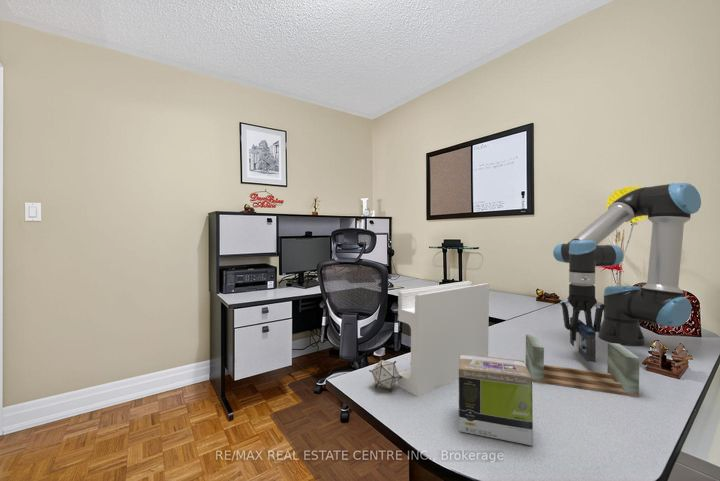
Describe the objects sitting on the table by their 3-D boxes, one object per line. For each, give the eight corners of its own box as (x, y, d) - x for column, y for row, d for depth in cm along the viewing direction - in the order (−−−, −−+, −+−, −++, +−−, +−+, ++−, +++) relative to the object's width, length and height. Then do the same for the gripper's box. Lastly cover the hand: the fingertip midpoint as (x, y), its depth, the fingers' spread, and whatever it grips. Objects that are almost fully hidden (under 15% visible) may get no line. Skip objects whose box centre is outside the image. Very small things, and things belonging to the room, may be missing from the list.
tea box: (524, 420, 74) (525, 359, 74) (533, 448, 64) (534, 378, 64) (458, 408, 79) (459, 351, 79) (457, 432, 69) (458, 367, 69)
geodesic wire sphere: (384, 404, 88) (374, 385, 82) (371, 381, 95) (360, 362, 89) (410, 385, 89) (401, 365, 84) (395, 364, 96) (386, 345, 91)
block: (418, 396, 84) (418, 295, 84) (397, 385, 91) (398, 290, 90) (488, 365, 106) (489, 283, 105) (467, 357, 112) (468, 280, 111)
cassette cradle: (618, 378, 96) (619, 343, 96) (638, 397, 85) (639, 358, 85) (525, 365, 105) (525, 334, 105) (532, 381, 94) (532, 346, 93)
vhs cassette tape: (569, 342, 118) (569, 316, 118) (578, 343, 117) (579, 317, 117) (585, 361, 101) (585, 331, 101) (595, 362, 100) (596, 332, 100)
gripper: (559, 284, 108) (559, 351, 108) (613, 286, 102) (613, 357, 103) (553, 281, 115) (553, 344, 115) (604, 283, 109) (603, 348, 110)
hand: (581, 350), depth 109 cm, fingers closed on vhs cassette tape, 2 cm apart
